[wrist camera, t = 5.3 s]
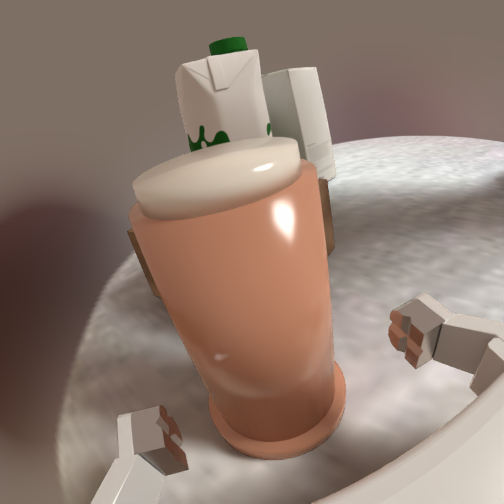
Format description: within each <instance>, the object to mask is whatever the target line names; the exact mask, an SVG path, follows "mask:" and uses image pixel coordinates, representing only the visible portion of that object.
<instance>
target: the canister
mask: <svg viewBox="0 0 504 504" xmlns="http://www.w3.org/2000/svg"><path fill="white" fill-rule="evenodd" d="M133 189H134V192H135V195H136V198H137V200H138V201H137V202H136V203H135V204H134V205H133V207H132V208H131V209H130V212H129V216H128V217H129V220H130V222H131V225H132V228H133V230H134V233H135V236H136V238H137V241H138V243H139V246H140V248H141V251H142V253H143V256H144V258H145V260H146V263H147V265H148V268H149V270H150V272H151V275H152V277H153V279H154V282H155V284H156V286H157V289H158V291H159V293H160V295H161V298H162V300H163V302H164V304H165V306H166V309H167V311H168V313H169V315H170V317H171V319H172V321H173V324H174V326H175V328H176V330H177V332H178V334H179V336H180V338H181V340H182V342H183V344H184V346H185V348H186V350H187V352H188V354H189V356H190V358H191V360H192V362H193V364H194V366H195V368H196V370H197V372H198V373H199V375H200V377H201V379H202V381H203V383H204V385H205V386H206V388H207V390H208V392H209V411H210V415H211V418H212V420H213V422H214V424H215V426H216V427H217V429H218V431H219V432H220V434H221V435H222V436H223V438H224V439H225V440H226V441H227V442H228V443H229V444H230V445H231V446H232V447H233V448H235V449H236V450H238V451H240V452H242V453H244V454H246V455H248V456H252V457H255V458H260V459H267V460H279V459H287V458H292V457H296V456H299V455H302V454H305V453H307V452H309V451H311V450H313V449H314V448H316V447H317V446H319V445H321V444H322V443H323V442H324V441H325V440H327V439H328V438H329V437H330V435H331V434H332V433H333V432H334V431H335V429H336V428H337V426H338V425H339V423H340V421H341V419H342V416H343V413H344V409H345V400H346V384H345V379H344V376H343V373H342V371H341V369H340V367H339V366H338V364H337V363H336V362H335V361H334V344H333V325H332V309H331V295H330V283H329V271H328V260H327V250H326V241H325V232H324V223H323V214H322V206H321V199H320V191H319V184H318V177H317V170H316V167H315V165H314V164H313V163H311V162H309V161H307V160H304V159H301V158H300V154H299V148H298V143H297V141H296V140H294V139H292V138H287V137H260V138H251V139H244V140H238V141H233V142H227V143H223V144H218V145H214V146H210V147H207V148H203V149H200V150H196V151H193V152H190V153H187V154H184V155H181V156H179V157H176V158H173V159H171V160H169V161H167V162H164V163H162V164H159V165H157V166H156V167H153V168H151V169H150V170H148V171H146V172H145V173H143V174H142V175H140V176H139V177H138V178H137V179H136V180H135V181H134V182H133Z"/></svg>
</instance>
